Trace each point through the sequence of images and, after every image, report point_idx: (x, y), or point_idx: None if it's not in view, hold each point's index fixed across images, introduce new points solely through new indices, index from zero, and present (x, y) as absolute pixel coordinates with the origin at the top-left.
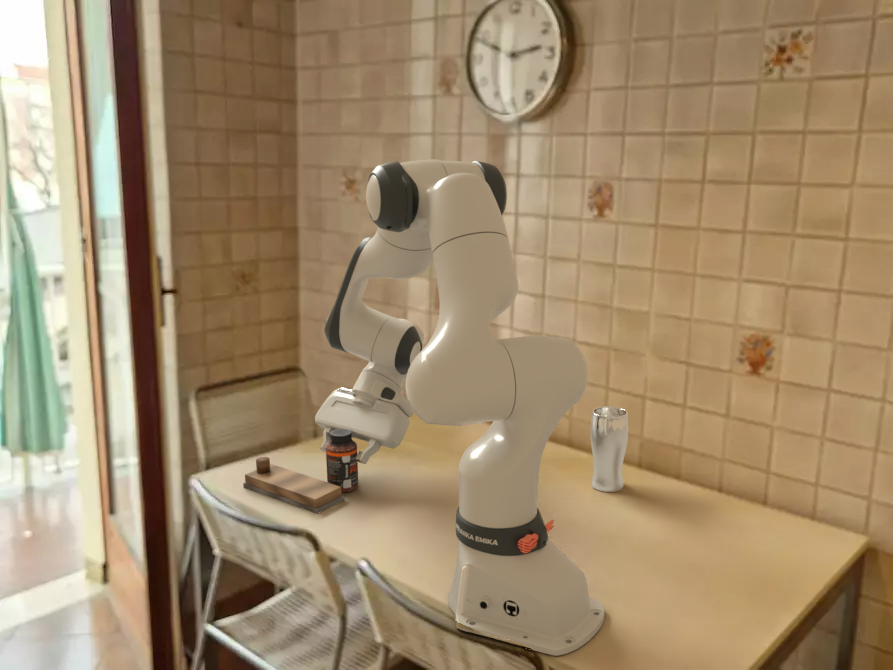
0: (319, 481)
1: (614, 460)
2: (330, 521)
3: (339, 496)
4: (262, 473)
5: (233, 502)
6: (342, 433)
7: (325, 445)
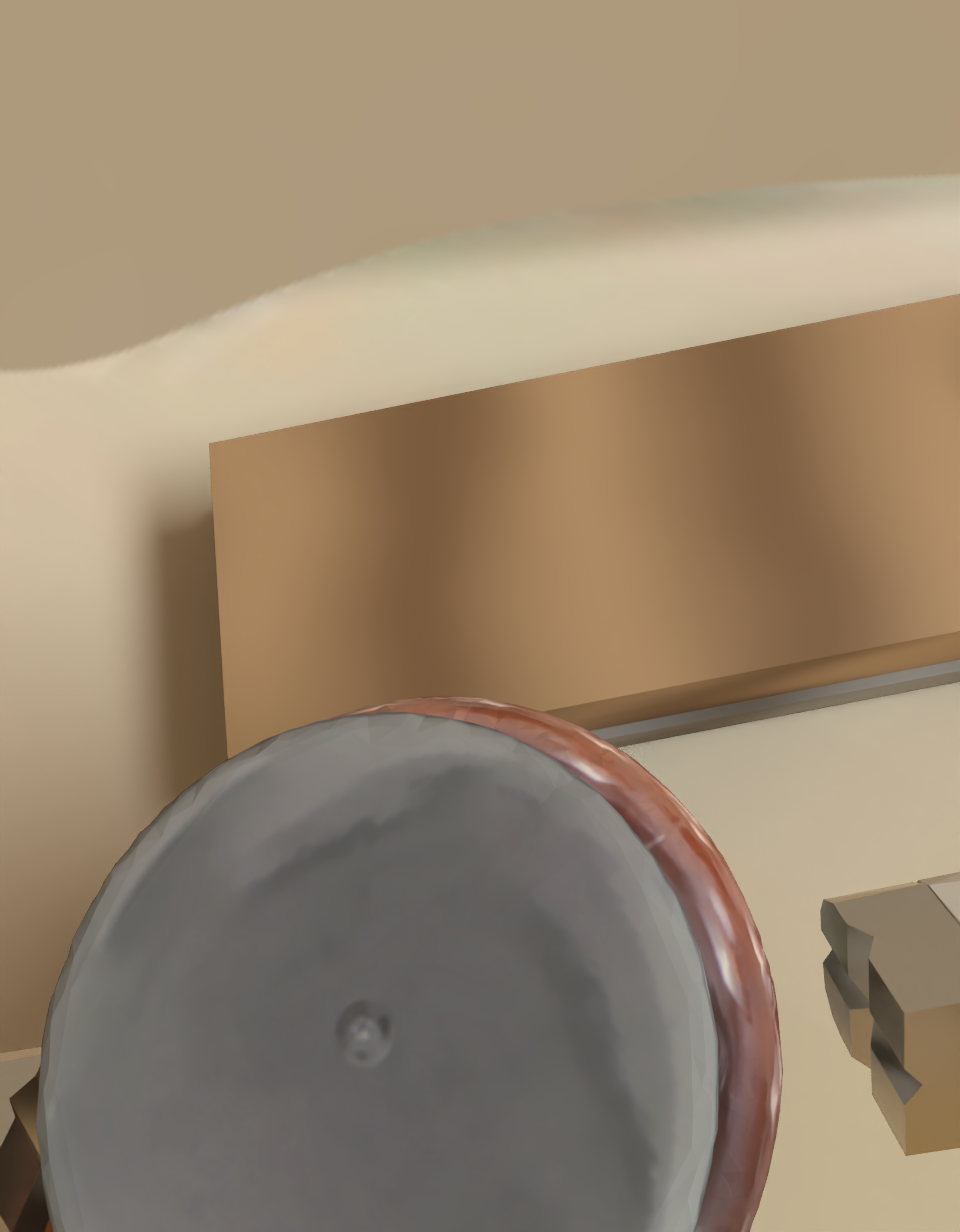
0: (520, 681)
1: None
2: (57, 513)
3: None
4: None
5: (863, 184)
6: (230, 999)
7: (900, 936)
